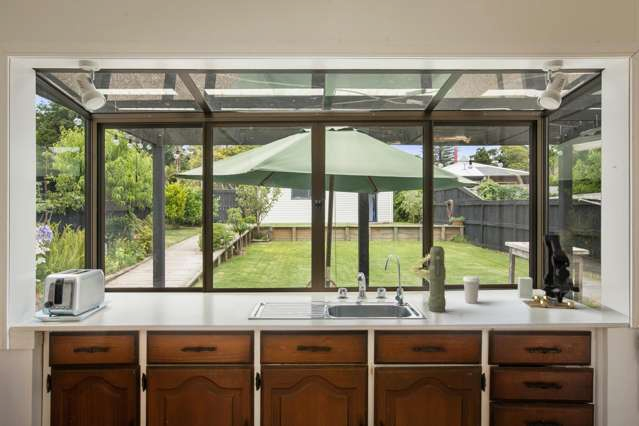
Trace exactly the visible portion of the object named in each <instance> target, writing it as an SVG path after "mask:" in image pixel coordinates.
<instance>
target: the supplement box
mask: <svg viewBox="0 0 639 426" xmlns="http://www.w3.org/2000/svg"><path fill="white" fill-rule="evenodd" d="M533 282H534V279H533V278H532V277H530V276H529V277H527V276H518V277H517V297H518V298H520V299H530V300H531V299H532V300H533V285H534V284H533Z"/></svg>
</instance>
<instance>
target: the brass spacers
mask: <svg viewBox="0 0 639 426" xmlns="http://www.w3.org/2000/svg"><path fill="white" fill-rule="evenodd" d="M542 298H543V299H541V295H537V294H536V295H534V294H533V301H534V302H537V303H540V307H541V308H540V309H548V308H547V299H551V298H550V296H543V295H542ZM555 299H556V300H557V298H555ZM563 302H564V298H563V299H562V302H561V303H563ZM566 303H567V308H569V309H568V310H575V309H574V307H575V301H572V300H567V302H566Z"/></svg>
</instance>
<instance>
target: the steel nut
mask: <svg viewBox="0 0 639 426" xmlns="http://www.w3.org/2000/svg"><path fill="white" fill-rule="evenodd" d="M547 304H548V305H550V306H558V300H556V298H550V299H547Z"/></svg>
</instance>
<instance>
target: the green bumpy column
mask: <svg viewBox="0 0 639 426" xmlns="http://www.w3.org/2000/svg"><path fill="white" fill-rule="evenodd" d="M445 253H446V252H445V249H444V247H443V246H442V245H441V246H439V245H434V246H431V248H430V250H429V262H430V263H429V267H428V279H429V297H428V311H429V312H431V313H446V306H447V305H446V302H447V301H446V298H445V297H446V296H445V294H446V293H445V292H446V291H445V289H446V285H445V282H446V281H445V280H446V276H447V275H446V272H447V271H446V267H445V266H446V265H445Z"/></svg>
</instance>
